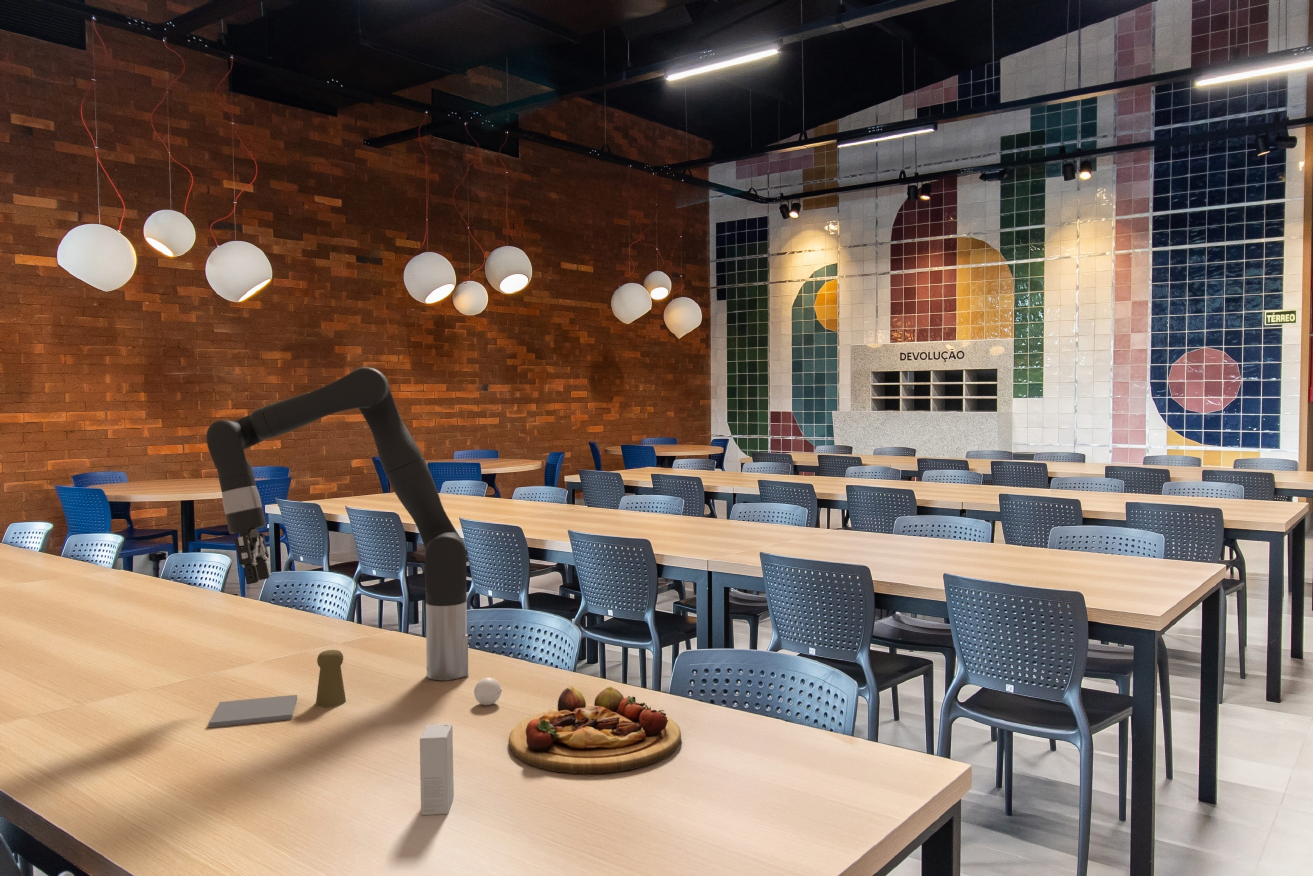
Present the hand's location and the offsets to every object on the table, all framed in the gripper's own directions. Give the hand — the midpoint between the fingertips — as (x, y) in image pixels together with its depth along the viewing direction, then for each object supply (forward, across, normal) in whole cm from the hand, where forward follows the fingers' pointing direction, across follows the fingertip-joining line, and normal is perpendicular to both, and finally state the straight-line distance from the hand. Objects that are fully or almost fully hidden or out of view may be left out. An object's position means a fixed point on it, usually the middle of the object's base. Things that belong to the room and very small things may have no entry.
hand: (259, 581), depth 194 cm
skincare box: (+38, -64, -36) cm, 82 cm away
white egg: (+36, -15, -44) cm, 58 cm away
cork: (+28, -9, -11) cm, 32 cm away
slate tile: (+26, -13, +3) cm, 29 cm away
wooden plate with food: (+42, -41, -62) cm, 86 cm away
